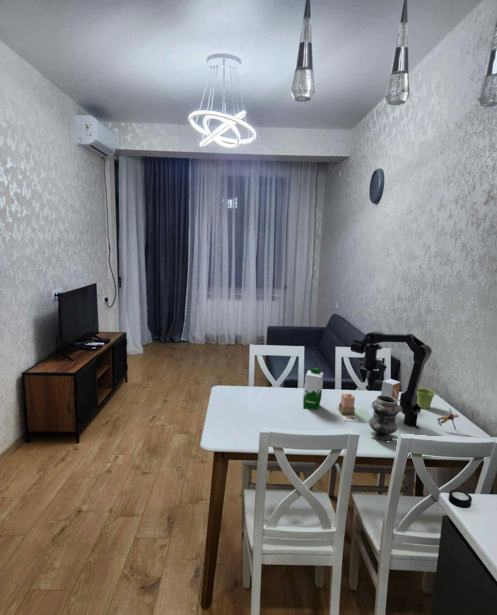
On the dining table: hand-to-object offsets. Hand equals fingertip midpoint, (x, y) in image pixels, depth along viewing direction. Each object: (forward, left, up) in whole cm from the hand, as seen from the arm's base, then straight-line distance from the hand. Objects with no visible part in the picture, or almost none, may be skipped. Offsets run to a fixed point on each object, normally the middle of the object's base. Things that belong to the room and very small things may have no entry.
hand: (366, 385), depth 214 cm
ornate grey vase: (-31, +3, -13) cm, 34 cm away
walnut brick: (-8, +12, -12) cm, 19 cm away
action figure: (-21, -32, -13) cm, 40 cm away
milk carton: (-1, +28, -13) cm, 31 cm away
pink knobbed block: (-8, +12, -8) cm, 16 cm away
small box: (+7, -16, -13) cm, 22 cm away
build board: (-10, +8, -12) cm, 18 cm away
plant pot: (+6, -35, -13) cm, 38 cm away
